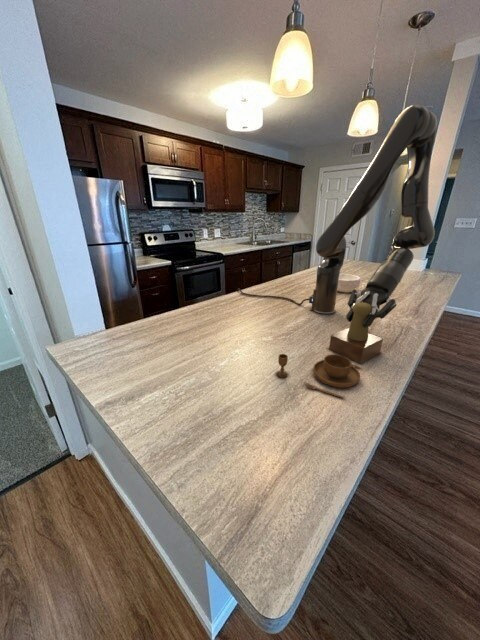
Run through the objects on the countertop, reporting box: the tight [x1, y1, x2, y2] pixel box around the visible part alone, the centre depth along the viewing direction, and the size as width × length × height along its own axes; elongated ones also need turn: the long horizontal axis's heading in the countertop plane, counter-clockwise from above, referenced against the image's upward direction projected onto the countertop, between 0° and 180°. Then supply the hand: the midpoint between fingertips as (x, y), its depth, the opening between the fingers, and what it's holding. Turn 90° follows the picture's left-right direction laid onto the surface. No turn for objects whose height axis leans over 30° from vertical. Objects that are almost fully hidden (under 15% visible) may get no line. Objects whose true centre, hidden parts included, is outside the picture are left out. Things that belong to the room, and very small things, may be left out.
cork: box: [347, 302, 372, 341], centre depth 80 cm, size 6×6×11 cm
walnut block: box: [328, 327, 384, 364], centre depth 83 cm, size 11×11×5 cm
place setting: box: [276, 353, 361, 399], centre depth 72 cm, size 18×20×6 cm
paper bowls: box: [337, 273, 361, 293], centre depth 147 cm, size 15×15×8 cm
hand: (356, 323), depth 79 cm, fingers closed on cork, 5 cm apart
